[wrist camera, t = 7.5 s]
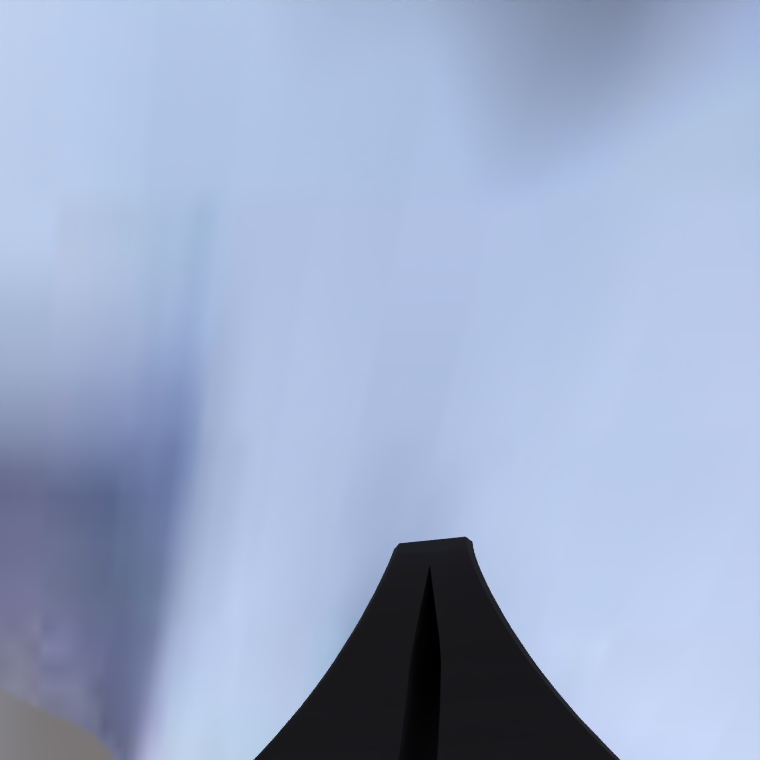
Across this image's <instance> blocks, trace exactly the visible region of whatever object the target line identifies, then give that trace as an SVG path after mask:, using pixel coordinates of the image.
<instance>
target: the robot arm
mask: <svg viewBox="0 0 760 760" xmlns="http://www.w3.org/2000/svg"><path fill="white" fill-rule="evenodd" d="M254 760H620V759H619V758H618V757H617V756H616V755H615V754H614V753H613V752H612V751H611V750H610V749H609V748H608V747H607V746H606V745H605V744H604V743H603V742H602V741H601V739H600V738H599V737H598V736H597V735H596V734H595V733H594V732H593V731H592V730H591V729H590V728H589V727H588V726H587V725H586V724H585V723H584V722H583V721H582V720H581V719H580V718H579V716H578V715H577V714H576V713H575V712H574V711H573V710H572V708H571V707H570V706H569V705H568V704H567V702H566V701H565V700H564V699H563V698H562V697H561V695H560V694H559V693H558V692H557V691H556V689H555V688H554V687H553V686H552V684H551V683H550V682H549V680H548V679H547V678H546V677H545V675H544V674H543V673H542V672H541V670H540V669H539V667H538V666H537V665H536V663H535V662H534V661H533V659H532V658H531V656H530V655H529V654H528V652H527V651H526V649H525V648H524V646H523V645H522V643H521V642H520V640H519V639H518V637H517V636H516V634H515V633H514V631H513V630H512V628H511V626H510V625H509V623H508V622H507V620H506V618H505V617H504V615H503V613H502V611H501V609H500V608H499V606H498V604H497V602H496V601H495V599H494V597H493V595H492V593H491V591H490V589H489V587H488V585H487V583H486V581H485V579H484V577H483V574H482V572H481V570H480V567H479V565H478V562H477V559H476V557H475V553H474V549H473V543H472V541H471V540H469V539H468V538H466V537H458V538H448V539H439V540H429V541H419V542H409V543H399V544H398V546H397V547H396V548H395V549H394V551H393V554H392V556H391V559H390V561H389V563H388V566H387V568H386V570H385V572H384V574H383V577H382V579H381V581H380V583H379V585H378V587H377V589H376V591H375V593H374V595H373V597H372V598H371V600H370V602H369V604H368V606H367V608H366V609H365V611H364V613H363V615H362V617H361V619H360V620H359V622H358V624H357V626H356V627H355V629H354V631H353V632H352V634H351V635H350V637H349V639H348V640H347V642H346V643H345V645H344V646H343V648H342V650H341V651H340V653H339V654H338V656H337V658H336V659H335V661H334V662H333V664H332V665H331V667H330V668H329V669H328V671H327V672H326V674H325V675H324V677H323V678H322V679H321V681H320V682H319V683H318V685H317V686H316V688H315V689H314V690H313V691H312V693H311V694H310V695H309V697H308V698H307V699H306V700H305V702H304V703H303V704H302V706H301V707H300V708H299V709H298V711H297V712H296V713H295V714H294V715H293V716H292V718H291V719H290V720H289V721H288V722H287V723H286V725H285V726H284V727H283V728H282V729H281V730H280V732H279V733H278V734H277V735H276V736H275V737H274V739H273V740H272V741H271V742H270V743H269V744H268V745H267V746H266V747H265V748H264V749H263V750H262V752H261V753H260V754H259V755H258V756H257V757H256V758H255V759H254Z"/></svg>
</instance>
